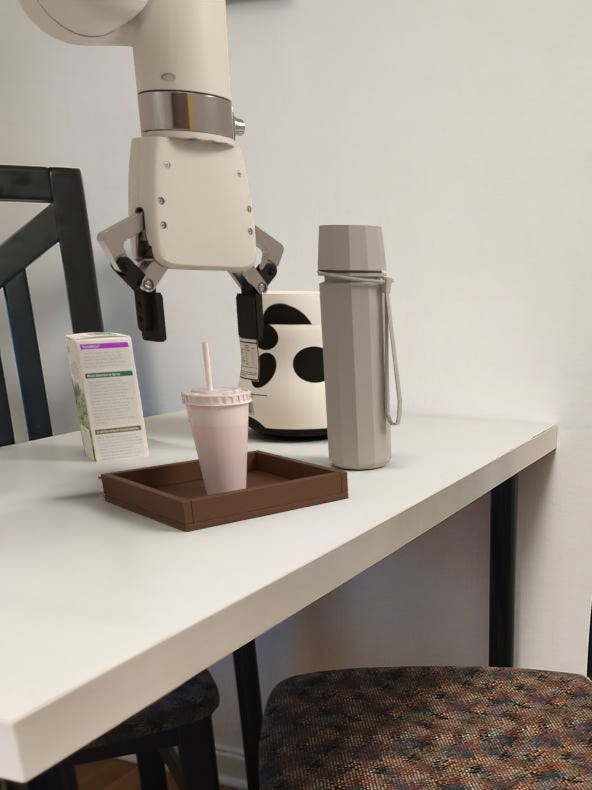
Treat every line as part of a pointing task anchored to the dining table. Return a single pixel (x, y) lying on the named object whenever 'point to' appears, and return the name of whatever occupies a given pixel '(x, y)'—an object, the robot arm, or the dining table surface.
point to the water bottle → (356, 345)
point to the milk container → (286, 367)
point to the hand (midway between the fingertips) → (204, 339)
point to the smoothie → (219, 431)
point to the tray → (198, 510)
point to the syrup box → (107, 395)
